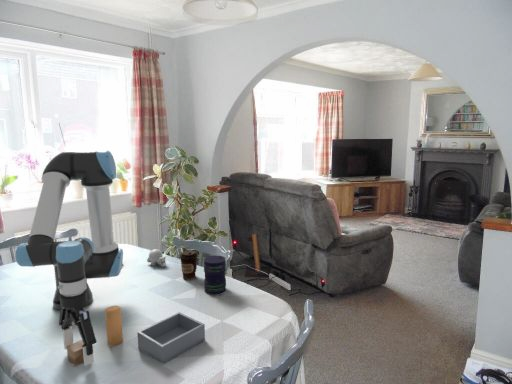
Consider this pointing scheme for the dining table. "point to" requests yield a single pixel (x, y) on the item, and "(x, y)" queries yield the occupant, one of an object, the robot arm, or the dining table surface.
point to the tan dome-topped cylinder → (114, 325)
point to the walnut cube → (75, 353)
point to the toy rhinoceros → (156, 258)
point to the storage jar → (214, 275)
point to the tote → (171, 337)
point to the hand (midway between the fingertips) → (78, 355)
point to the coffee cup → (189, 264)
